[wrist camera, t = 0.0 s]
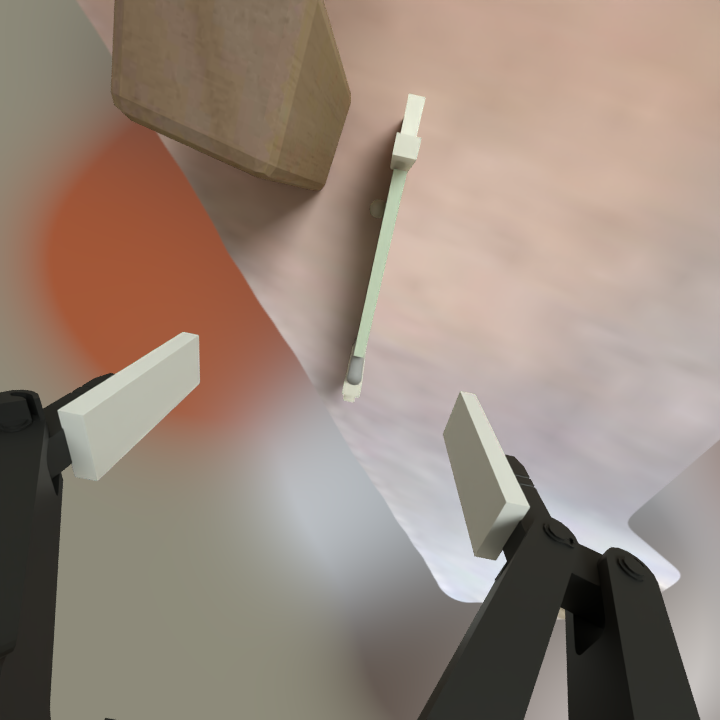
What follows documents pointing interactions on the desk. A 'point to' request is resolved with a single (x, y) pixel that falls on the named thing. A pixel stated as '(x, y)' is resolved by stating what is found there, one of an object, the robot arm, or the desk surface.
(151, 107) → the wooden block
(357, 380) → the l-shaped block
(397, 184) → the door
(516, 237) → the desk surface
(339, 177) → the desk surface
